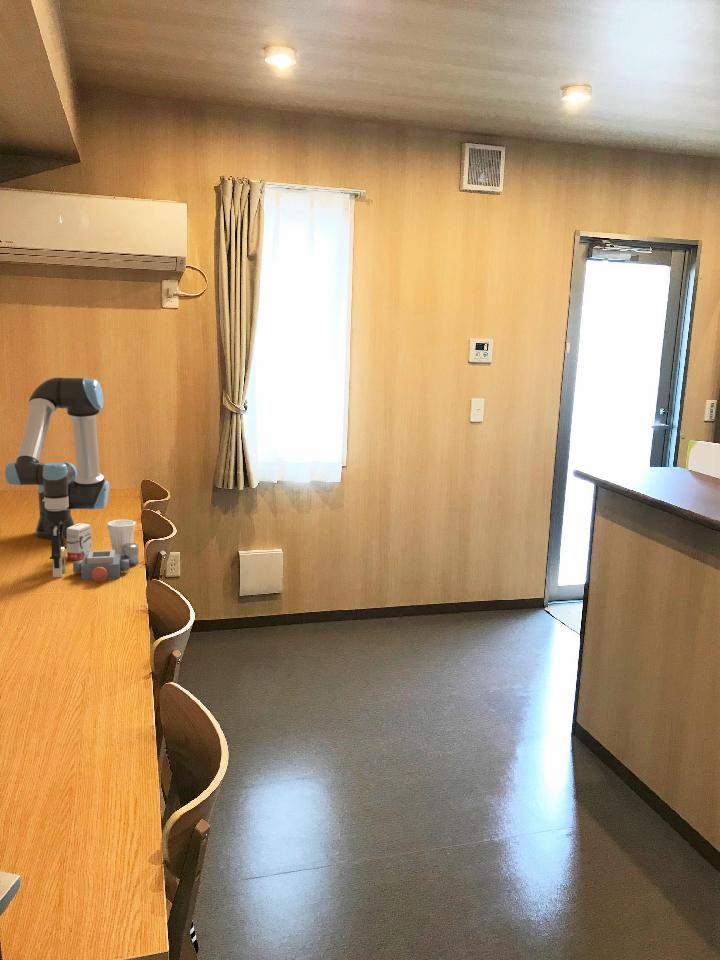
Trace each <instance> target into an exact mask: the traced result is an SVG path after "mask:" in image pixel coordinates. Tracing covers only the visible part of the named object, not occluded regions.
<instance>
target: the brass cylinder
mask: <svg viewBox="0 0 720 960" xmlns="http://www.w3.org/2000/svg"><path fill="white" fill-rule="evenodd" d="M61 562H62V575H64V574H66V570H67V569H66V567H67V566H66V549H65V547H64V546H61Z"/></svg>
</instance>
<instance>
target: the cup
mask: <svg viewBox="0 0 720 960" xmlns="http://www.w3.org/2000/svg"><path fill="white" fill-rule="evenodd" d="M106 525H107V530H108V535H109V540H110V544H111V545H110V546H111V550H115V554H121V545H122V544H126V543H134V536H135V535H134V534H135V529H136V521H135V520H131V519H114V520H110V521H109V522H107V524H106Z"/></svg>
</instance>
